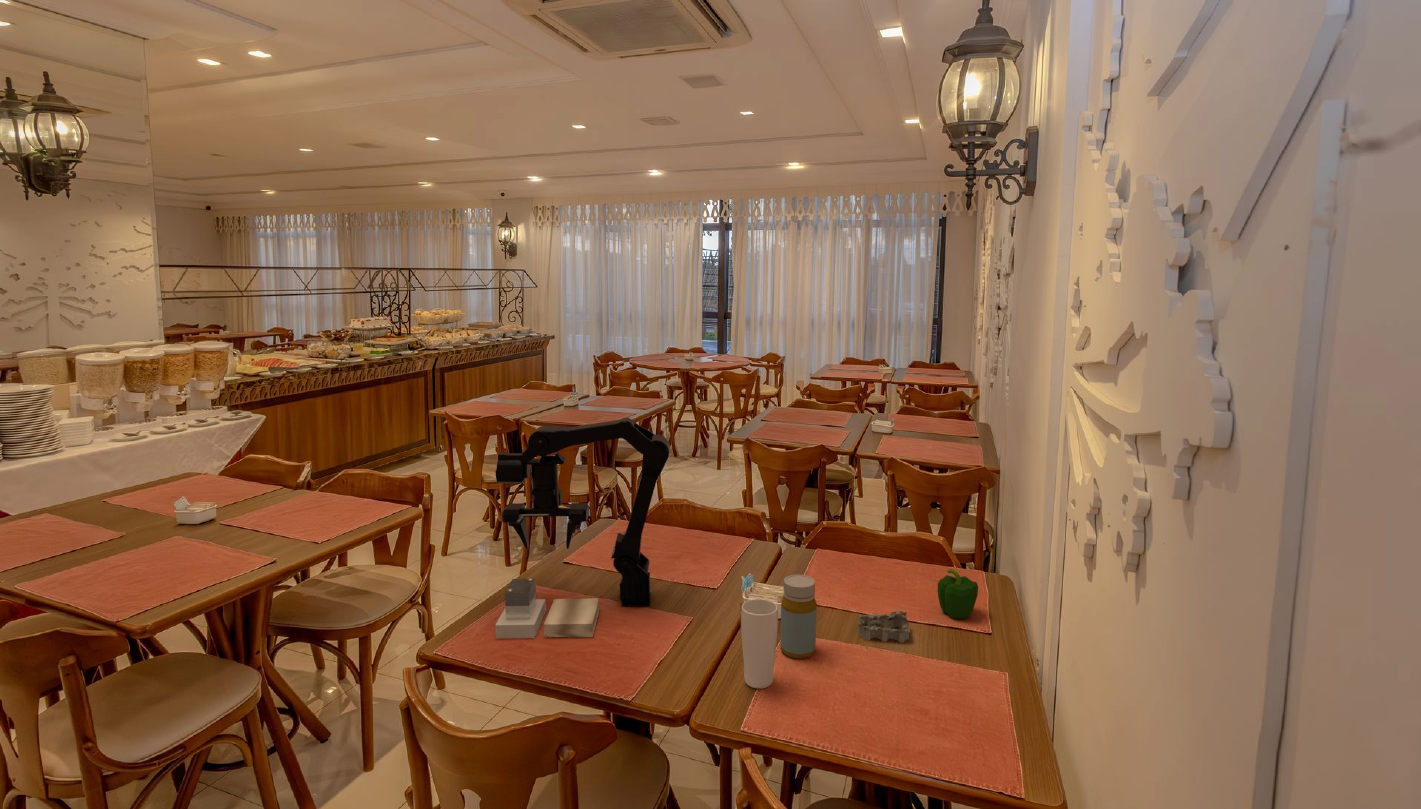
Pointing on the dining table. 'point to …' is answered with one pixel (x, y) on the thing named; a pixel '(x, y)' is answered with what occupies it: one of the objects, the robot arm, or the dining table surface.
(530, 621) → the stand
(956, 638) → the dining table surface
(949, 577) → the bell pepper
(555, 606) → the stand
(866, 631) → the egg carton
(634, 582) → the robot arm
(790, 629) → the bottle
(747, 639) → the drinking glass
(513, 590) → the housing
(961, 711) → the dining table surface
